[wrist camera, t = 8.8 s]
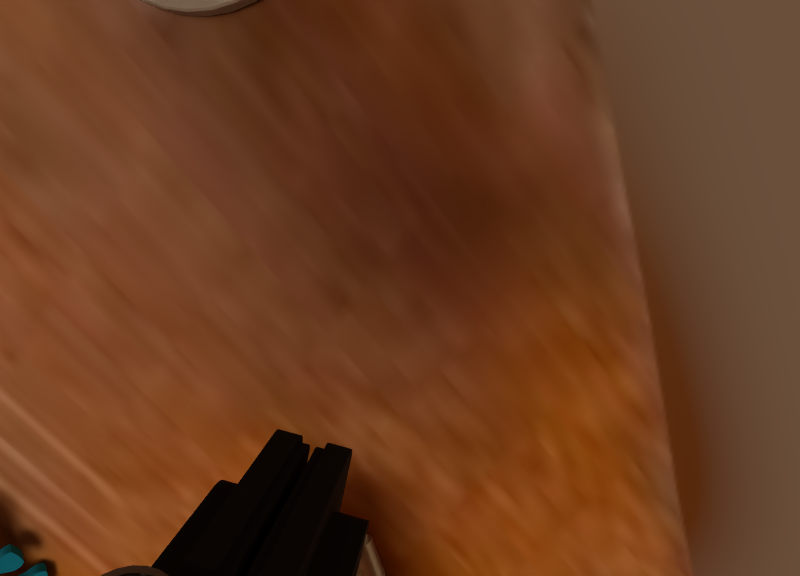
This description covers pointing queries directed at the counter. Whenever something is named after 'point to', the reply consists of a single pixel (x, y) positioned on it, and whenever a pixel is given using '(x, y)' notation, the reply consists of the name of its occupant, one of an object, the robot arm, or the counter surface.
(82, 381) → the counter surface
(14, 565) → the teal lobed piece
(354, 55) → the counter surface
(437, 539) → the counter surface
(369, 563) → the pneumatic valve
